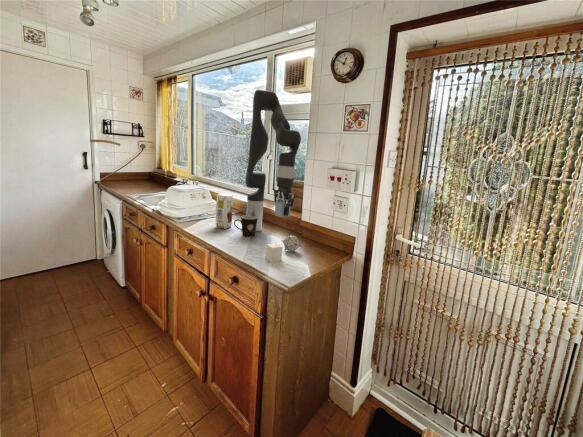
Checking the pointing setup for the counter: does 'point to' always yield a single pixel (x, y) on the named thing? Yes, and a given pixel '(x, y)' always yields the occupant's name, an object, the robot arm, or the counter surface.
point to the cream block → (273, 252)
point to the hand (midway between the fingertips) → (282, 214)
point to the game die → (291, 243)
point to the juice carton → (224, 210)
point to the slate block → (280, 209)
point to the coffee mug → (248, 225)
